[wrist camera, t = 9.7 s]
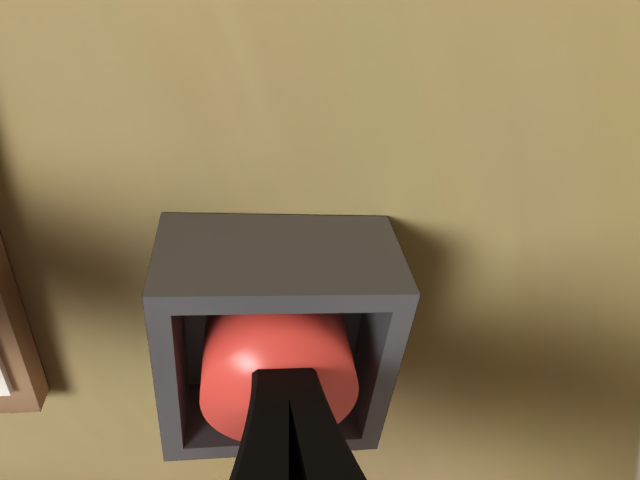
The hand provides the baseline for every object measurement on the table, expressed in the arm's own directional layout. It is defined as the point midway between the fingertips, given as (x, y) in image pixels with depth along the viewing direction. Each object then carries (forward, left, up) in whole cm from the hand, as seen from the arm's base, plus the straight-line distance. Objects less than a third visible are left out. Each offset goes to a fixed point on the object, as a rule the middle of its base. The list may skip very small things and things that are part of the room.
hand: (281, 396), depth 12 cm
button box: (0, 0, -3) cm, 3 cm away
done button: (0, 0, -2) cm, 2 cm away
